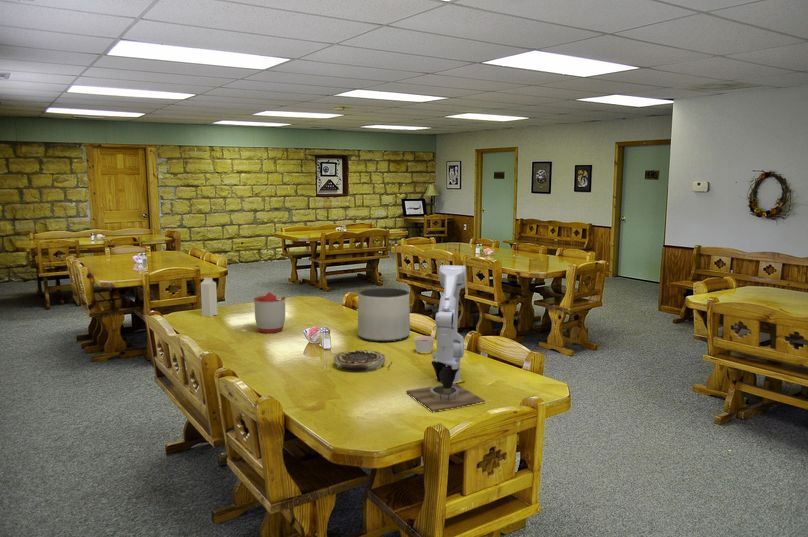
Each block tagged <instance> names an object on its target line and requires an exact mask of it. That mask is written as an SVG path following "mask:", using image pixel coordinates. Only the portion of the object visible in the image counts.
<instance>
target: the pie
mask: <svg viewBox="0 0 808 537" xmlns="http://www.w3.org/2000/svg"><path fill="white" fill-rule="evenodd" d="M385 360H389V359H388V358H386V355H385V354H384V353H382V352H380V351H376V350H369V349H355V350H347V351H345V352H338V353H336V354H335V356H333V362H334V363H335V365H336V368H337V369H339V370H344V371H348V372H355V373H356V372H360V373H361V372H371V371H377V370H376V369H379V368H380V367H381V366H382V365H383V366H384V363H385V362H386V361H385ZM381 368H382V367H381ZM381 368H380V369H381ZM380 369H379V370H380ZM370 370H371V371H370Z"/></svg>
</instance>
